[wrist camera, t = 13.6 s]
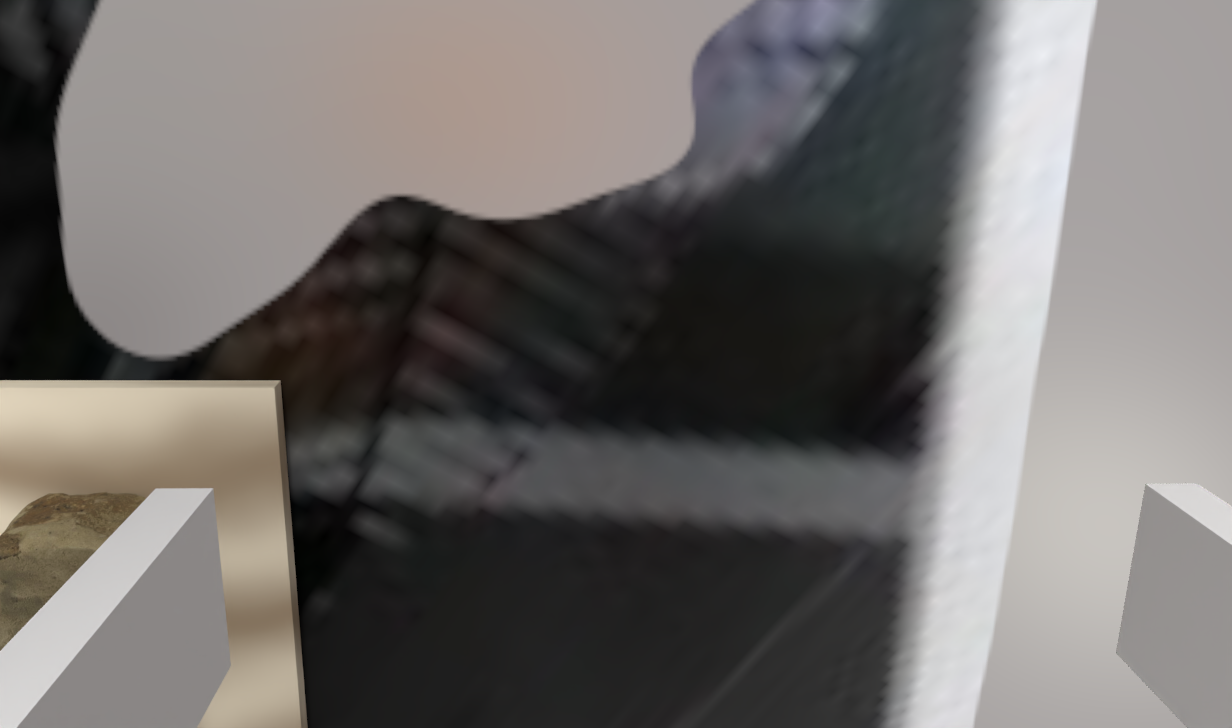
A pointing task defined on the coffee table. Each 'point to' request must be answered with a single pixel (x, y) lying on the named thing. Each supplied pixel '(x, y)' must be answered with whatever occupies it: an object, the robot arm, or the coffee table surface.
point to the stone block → (52, 549)
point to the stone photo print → (181, 458)
